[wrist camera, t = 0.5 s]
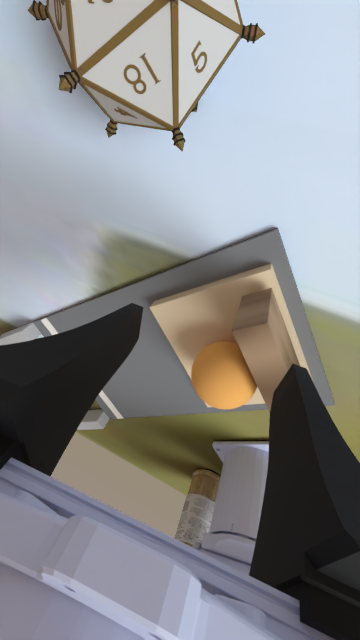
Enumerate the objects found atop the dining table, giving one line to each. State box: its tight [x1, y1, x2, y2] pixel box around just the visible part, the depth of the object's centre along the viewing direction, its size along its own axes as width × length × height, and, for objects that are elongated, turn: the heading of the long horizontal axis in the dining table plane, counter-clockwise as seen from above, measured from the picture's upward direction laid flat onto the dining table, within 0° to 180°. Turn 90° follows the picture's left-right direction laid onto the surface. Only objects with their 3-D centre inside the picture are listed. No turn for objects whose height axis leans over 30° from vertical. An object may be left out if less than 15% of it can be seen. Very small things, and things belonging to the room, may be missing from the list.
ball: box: [191, 341, 257, 409], centre depth 21 cm, size 5×5×5 cm
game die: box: [28, 0, 265, 151], centre depth 11 cm, size 9×8×10 cm
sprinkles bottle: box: [175, 469, 220, 547], centre depth 32 cm, size 5×5×14 cm
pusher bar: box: [232, 288, 300, 412], centre depth 18 cm, size 10×2×4 cm, turn 28°
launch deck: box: [0, 228, 334, 430], centre depth 28 cm, size 16×34×2 cm, turn 118°
